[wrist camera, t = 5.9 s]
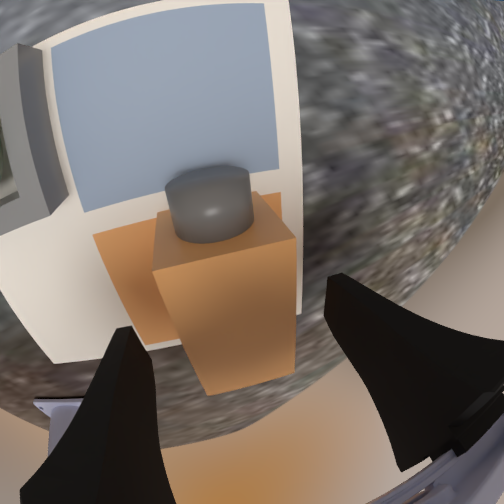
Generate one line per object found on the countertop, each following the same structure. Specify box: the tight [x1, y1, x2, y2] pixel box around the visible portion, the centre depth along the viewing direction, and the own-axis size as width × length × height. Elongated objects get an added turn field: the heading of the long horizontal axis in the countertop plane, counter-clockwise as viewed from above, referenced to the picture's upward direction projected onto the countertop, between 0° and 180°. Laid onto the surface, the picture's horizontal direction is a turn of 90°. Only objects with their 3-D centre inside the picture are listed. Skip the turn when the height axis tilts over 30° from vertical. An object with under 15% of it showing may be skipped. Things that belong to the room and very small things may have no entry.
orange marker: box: [152, 166, 297, 396], centre depth 10 cm, size 8×4×4 cm, turn 6°
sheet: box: [0, 0, 303, 364], centre depth 10 cm, size 16×16×1 cm
